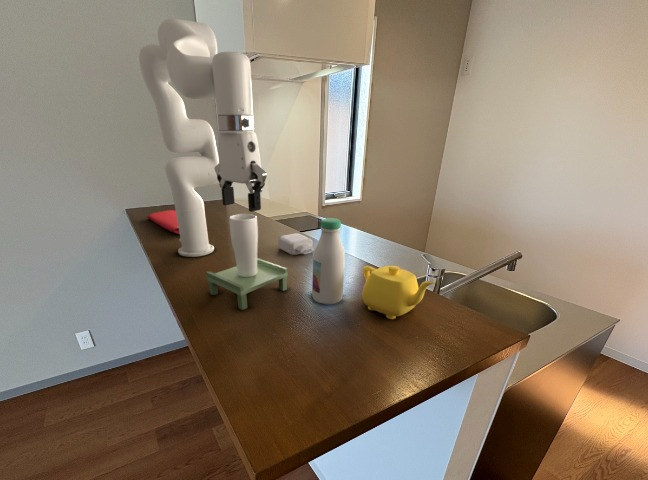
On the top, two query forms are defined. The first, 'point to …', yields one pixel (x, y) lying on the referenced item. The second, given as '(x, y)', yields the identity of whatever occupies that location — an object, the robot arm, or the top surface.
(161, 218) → the red flat wedge
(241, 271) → the drinking glass
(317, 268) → the milk bottle
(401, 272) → the teapot
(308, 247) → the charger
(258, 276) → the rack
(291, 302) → the top surface
